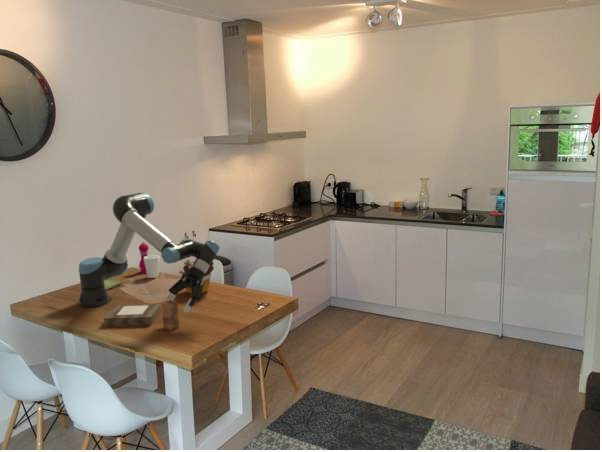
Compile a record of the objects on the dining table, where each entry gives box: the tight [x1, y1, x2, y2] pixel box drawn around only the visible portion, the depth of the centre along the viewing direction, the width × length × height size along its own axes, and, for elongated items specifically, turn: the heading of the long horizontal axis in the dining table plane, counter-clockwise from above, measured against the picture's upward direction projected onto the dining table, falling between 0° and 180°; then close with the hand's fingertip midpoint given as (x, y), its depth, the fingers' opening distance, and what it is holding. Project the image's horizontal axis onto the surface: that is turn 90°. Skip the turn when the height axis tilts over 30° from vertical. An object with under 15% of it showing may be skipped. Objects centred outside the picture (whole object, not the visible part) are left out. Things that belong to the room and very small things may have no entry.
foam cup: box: [144, 254, 161, 279], centre depth 324 cm, size 10×9×13 cm
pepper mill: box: [138, 241, 150, 274], centre depth 336 cm, size 7×7×20 cm
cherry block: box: [161, 300, 180, 331], centre depth 242 cm, size 5×5×12 cm
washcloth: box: [104, 278, 122, 291], centre depth 310 cm, size 13×18×3 cm
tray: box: [103, 303, 162, 327], centre depth 255 cm, size 22×18×4 cm
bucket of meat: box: [178, 258, 215, 295], centre depth 294 cm, size 20×16×20 cm
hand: (175, 309), depth 243 cm, fingers open, 13 cm apart
